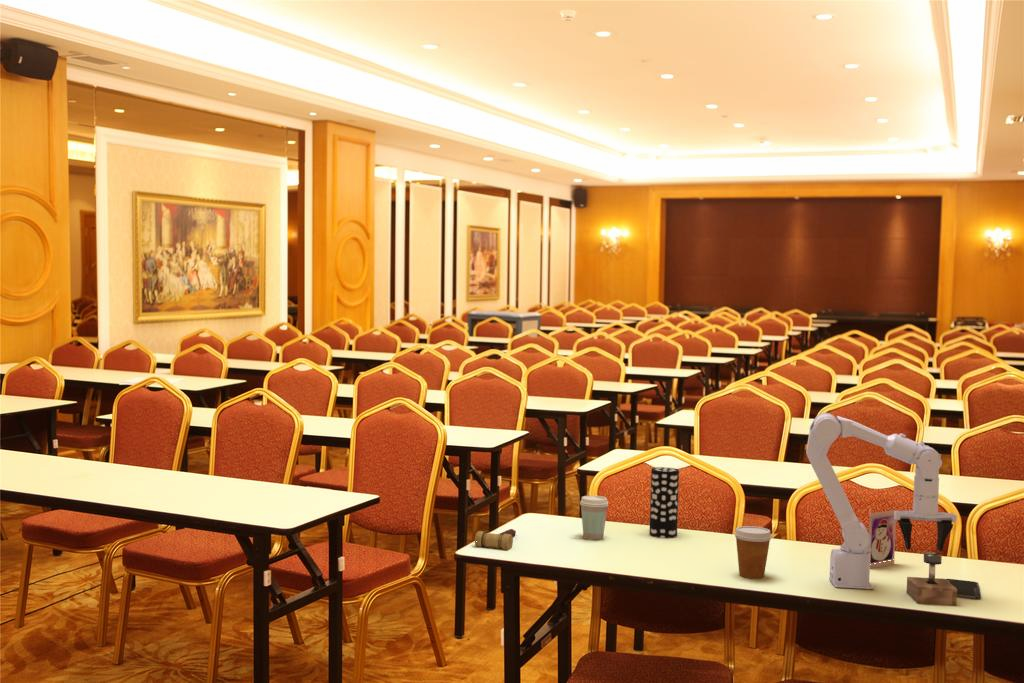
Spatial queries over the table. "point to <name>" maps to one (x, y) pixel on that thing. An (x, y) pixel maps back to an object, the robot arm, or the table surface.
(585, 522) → the coffee cup
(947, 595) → the box
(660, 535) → the white-spotted black cylinder
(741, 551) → the disposable coffee cup
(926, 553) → the dark round knob
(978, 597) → the phone
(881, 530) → the greeting card
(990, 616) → the table surface
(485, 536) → the gavel
